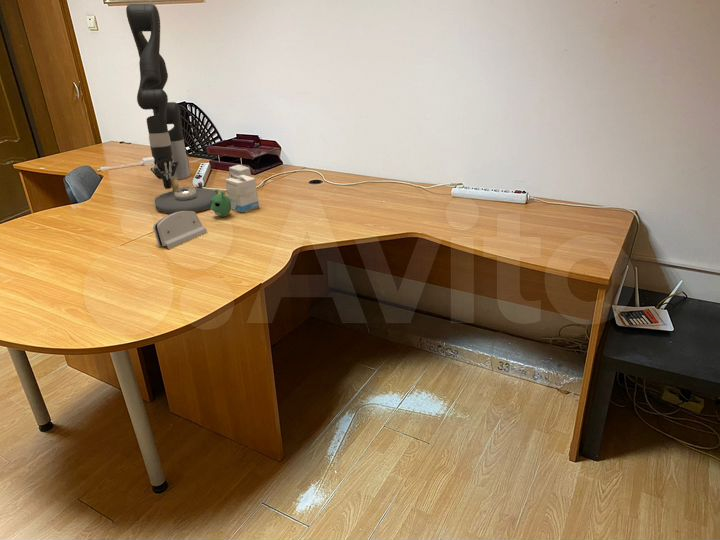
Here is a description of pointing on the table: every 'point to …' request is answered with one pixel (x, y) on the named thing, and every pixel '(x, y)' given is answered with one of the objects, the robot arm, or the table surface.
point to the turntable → (172, 205)
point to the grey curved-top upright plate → (178, 229)
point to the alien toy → (220, 204)
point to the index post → (200, 185)
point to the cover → (185, 194)
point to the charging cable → (145, 161)
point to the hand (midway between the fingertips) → (168, 188)
